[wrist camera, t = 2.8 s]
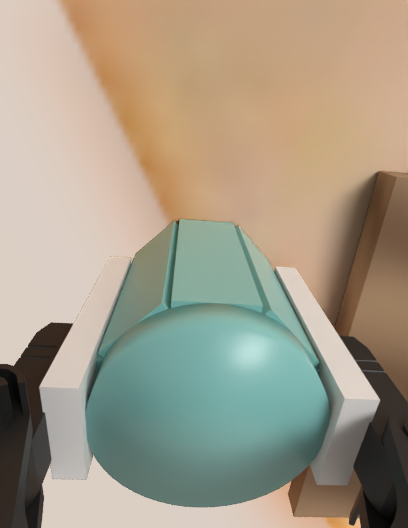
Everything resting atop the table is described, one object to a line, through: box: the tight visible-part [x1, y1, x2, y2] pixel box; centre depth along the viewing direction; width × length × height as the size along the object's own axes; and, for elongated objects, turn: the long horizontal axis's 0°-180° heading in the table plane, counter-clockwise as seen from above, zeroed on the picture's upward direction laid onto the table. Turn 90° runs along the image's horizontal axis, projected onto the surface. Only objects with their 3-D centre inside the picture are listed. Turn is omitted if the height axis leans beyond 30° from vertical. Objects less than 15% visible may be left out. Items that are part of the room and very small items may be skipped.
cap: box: [85, 219, 330, 507], centre depth 11 cm, size 5×5×7 cm
